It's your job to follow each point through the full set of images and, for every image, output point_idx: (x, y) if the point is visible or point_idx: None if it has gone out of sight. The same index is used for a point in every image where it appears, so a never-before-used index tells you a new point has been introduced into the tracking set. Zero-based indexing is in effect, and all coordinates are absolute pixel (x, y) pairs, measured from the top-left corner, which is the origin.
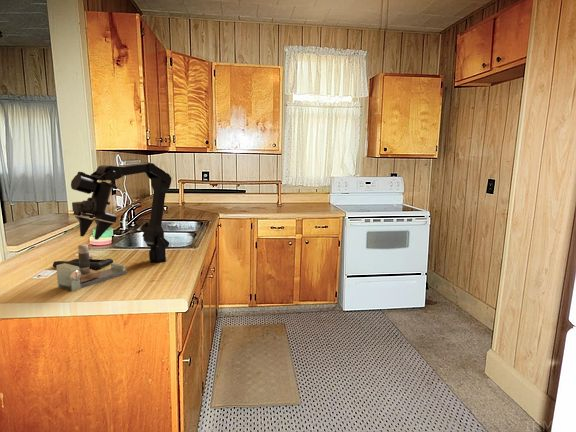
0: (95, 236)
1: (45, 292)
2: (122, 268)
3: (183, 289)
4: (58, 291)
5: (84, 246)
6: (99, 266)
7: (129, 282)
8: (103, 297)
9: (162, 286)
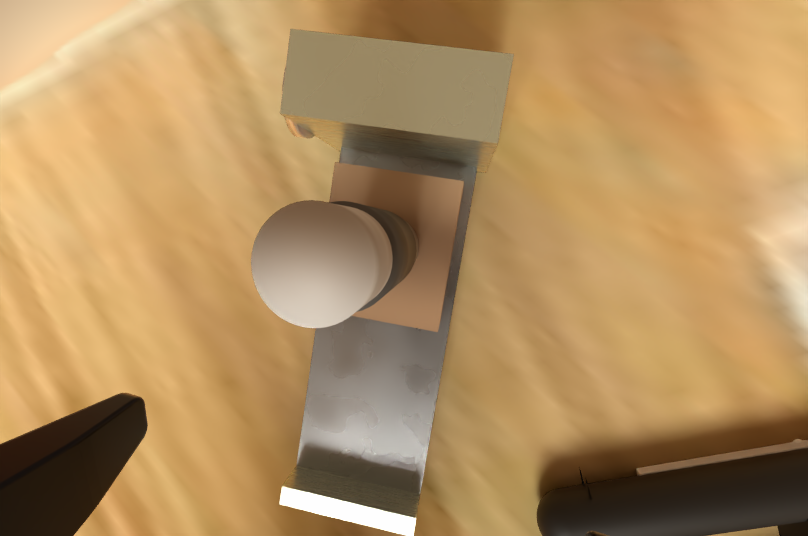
0: (72, 416)
1: (490, 15)
2: (294, 476)
3: None
4: None
5: (257, 238)
6: (541, 508)
7: (167, 343)
8: (116, 99)
9: None
